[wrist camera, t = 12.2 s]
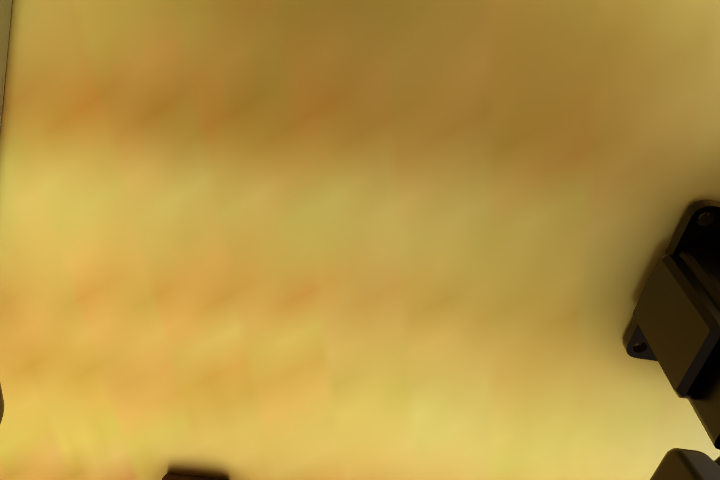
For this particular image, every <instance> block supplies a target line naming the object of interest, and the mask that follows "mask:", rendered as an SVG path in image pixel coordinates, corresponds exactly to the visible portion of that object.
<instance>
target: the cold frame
mask: <svg viewBox="0 0 720 480" xmlns="http://www.w3.org/2000/svg"><path fill="white" fill-rule="evenodd" d="M11 9H12V0H0V128H1V117H2V106H3V95H4V85H5V74H6V63H7V52H8V41H9V31H10V20H11Z"/></svg>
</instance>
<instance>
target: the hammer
mask: <svg viewBox="0 0 720 480" xmlns="http://www.w3.org/2000/svg"><path fill="white" fill-rule="evenodd" d="M162 480H226V479H216V478H206V477H196V476H186V475H177V474H166V475H165V476H164V477H163V478H162Z"/></svg>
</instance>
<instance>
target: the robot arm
mask: <svg viewBox="0 0 720 480" xmlns="http://www.w3.org/2000/svg"><path fill="white" fill-rule="evenodd" d="M708 212H709V214H708V216H707V217H706V218H704V219H702V220H698V218H699V217H700V215H702V214H704V213H708ZM633 315H634V318H633V321H632V323H631V325H630V327H629V329H628V331H627V333H626V335H625V337H624V339H623V345H624V348H625V350H626V352H627V354H629V355H630V356H631V357H634V358H640V359H647V360H653V361H658V362H659V363H660V365H661V367H662V369H663V371H664V373H665V374H666V376H667V378H668V380H669V382H670V384H671V385H672V387H673V389H674V391H675V392H676V394H677V395H678V396H679V397H680V398H685V399H688V400H689V402H690V403H691V405H692V407H693V409H694V410H695V412H696V414H697V416H698V418H699V419H700V421H701V423H702V425H703V427H704V428H705V430H706V432H707V434H708V435H709V437H710V439H711V441H712V443H713V444H714V446H715V448H717V449H719V450H720V202H716V201H710V200H701V201H698V202H695V203H693V204H692V205H691V206H690V207H689V208H688V209H687V211H686V212H685V214H684V216H683V219H682V221H681V223H680V225H679V227H678V229H677V231H676V233H675V235H674V237H673V239H672V241H671V243H670V245H669V247H668V249H667V251H666V253H665V255H664V256H663V257H662V258H660V259H659V261H658V263H657V265H656V267H655V269H654V271H653V273H652V275H651V277H650V279H649V281H648V284H647V286H646V288H645V290H644V292H643V294H642V296H641V298H640V300H639V302H638V304H637V306H636V308H635V310H634V313H633ZM639 342H642V344H640V345H638V346H634V345H635V344H637V343H639ZM3 413H4V400H3V395H2V389H1V384H0V423H1V421H2V417H3ZM650 480H720V456H719V457H718V458H717V459H716V460H715V461H713V460H712V459H711V458H710V457H709V456H707V455H706V454H704V453H702V452H700V451H694V450H687V449H679V448H674V449H671V450H670V451H668V452H667V453H666V455H665V456H664V458H663V459H662V461H661V463H660V464H659V466H658V468H657V469H656V471H655V472H654V474H653V476H652V477H651V479H650Z"/></svg>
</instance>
